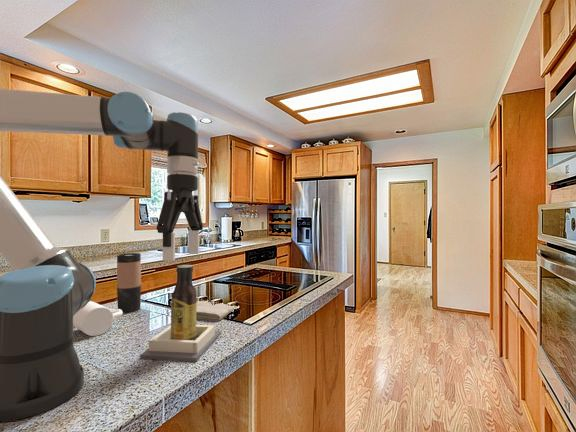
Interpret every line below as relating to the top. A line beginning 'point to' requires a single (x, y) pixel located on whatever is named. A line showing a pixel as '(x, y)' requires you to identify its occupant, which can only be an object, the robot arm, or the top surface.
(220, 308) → the washcloth
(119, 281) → the travel mug
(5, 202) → the robot arm
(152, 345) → the socket plate
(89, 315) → the mug
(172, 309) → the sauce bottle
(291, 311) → the top surface
